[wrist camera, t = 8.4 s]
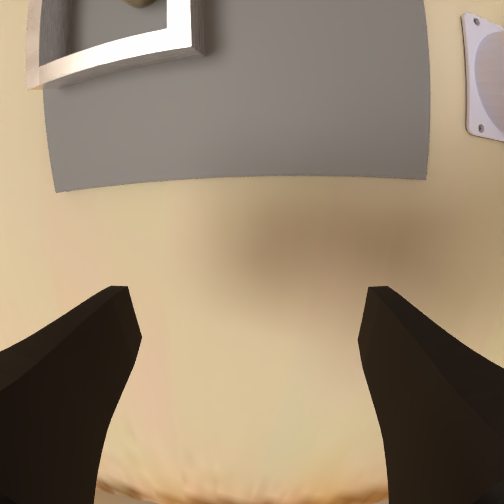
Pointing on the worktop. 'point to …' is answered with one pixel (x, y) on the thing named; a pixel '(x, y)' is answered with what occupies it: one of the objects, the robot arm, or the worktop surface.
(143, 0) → the post
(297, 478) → the worktop surface
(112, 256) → the worktop surface
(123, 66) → the square storage bin
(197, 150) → the board
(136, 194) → the worktop surface
